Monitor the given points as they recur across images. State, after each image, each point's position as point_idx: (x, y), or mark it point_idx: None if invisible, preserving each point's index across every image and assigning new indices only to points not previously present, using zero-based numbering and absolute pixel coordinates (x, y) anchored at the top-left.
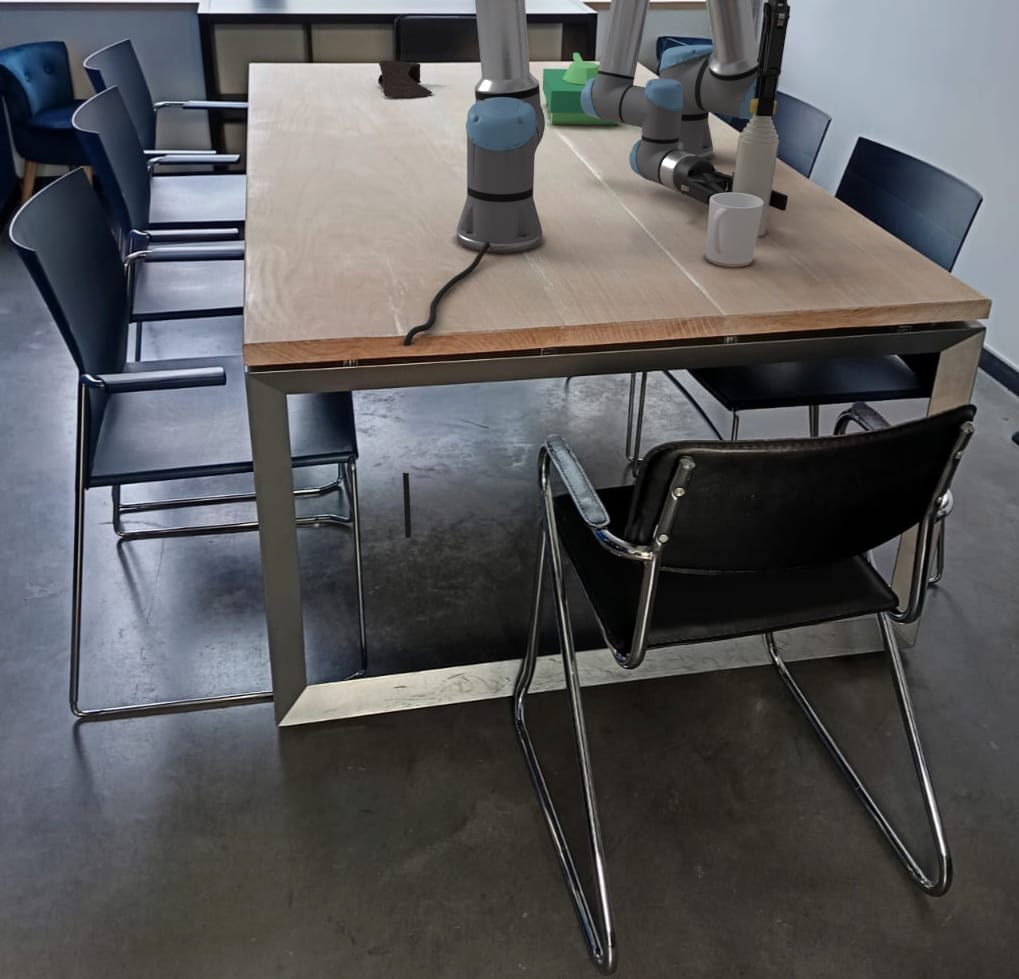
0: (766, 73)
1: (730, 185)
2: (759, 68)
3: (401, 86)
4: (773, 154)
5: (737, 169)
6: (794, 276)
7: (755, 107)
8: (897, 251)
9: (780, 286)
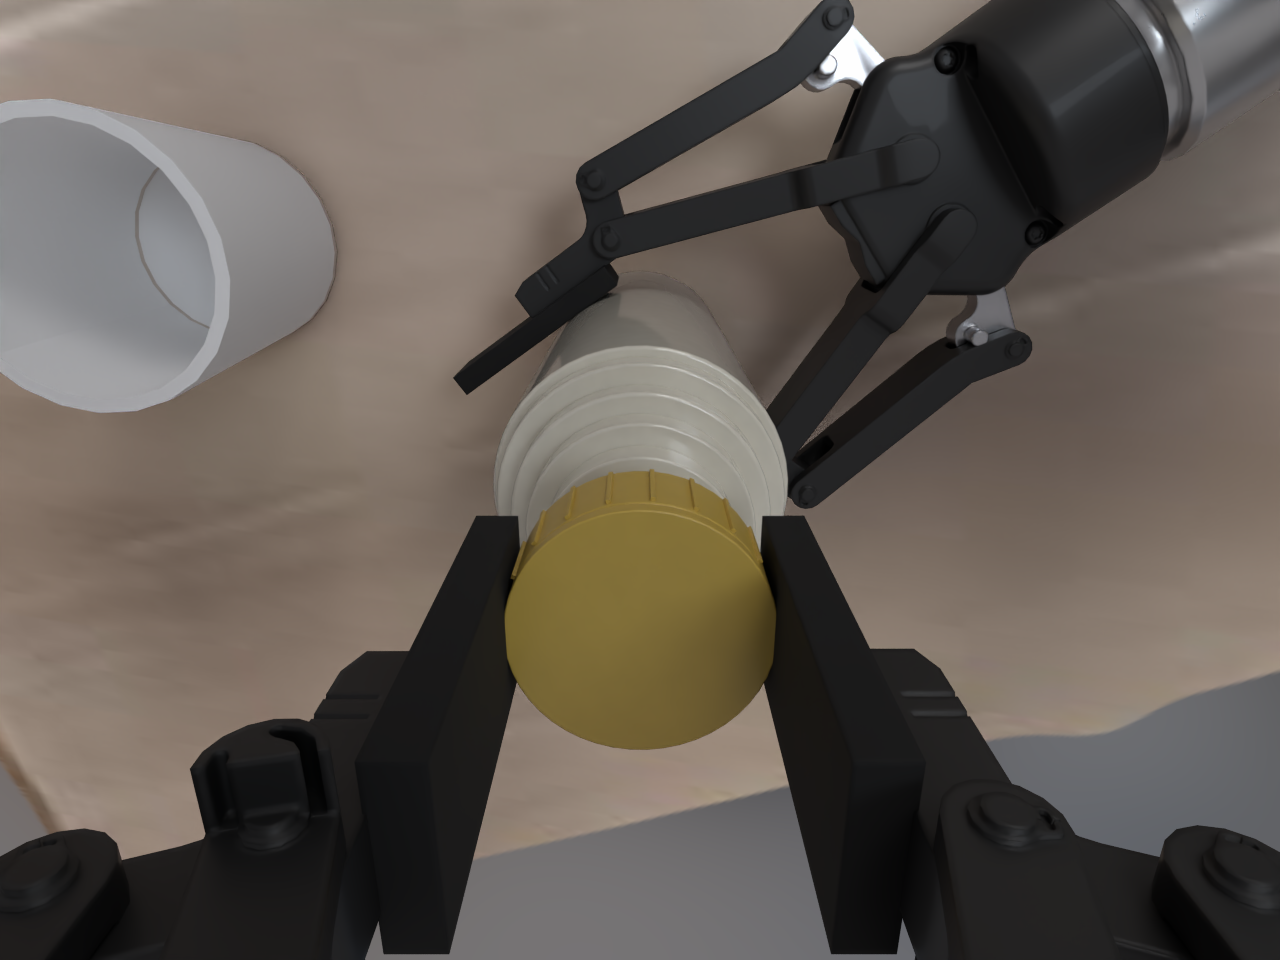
0: (5, 866)
1: (858, 305)
2: (945, 798)
3: None
4: None
5: (590, 322)
6: (144, 474)
7: (538, 531)
8: (501, 821)
9: (18, 412)
